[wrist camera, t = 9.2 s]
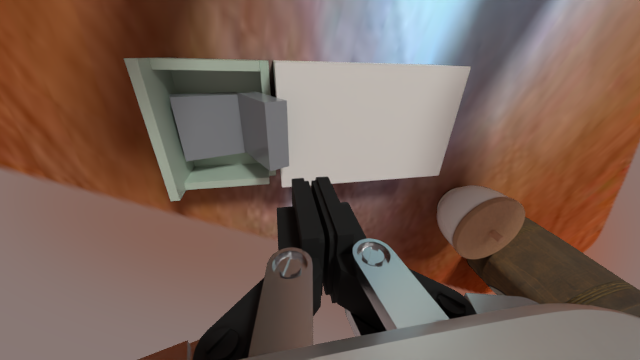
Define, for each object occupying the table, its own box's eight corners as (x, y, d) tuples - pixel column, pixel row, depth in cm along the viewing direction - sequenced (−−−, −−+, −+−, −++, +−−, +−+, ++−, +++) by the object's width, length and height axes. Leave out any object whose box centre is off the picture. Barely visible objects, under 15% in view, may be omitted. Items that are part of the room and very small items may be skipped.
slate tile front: (286, 100, 19) (264, 102, 18) (289, 166, 22) (270, 171, 21) (256, 91, 23) (237, 92, 22) (262, 147, 26) (244, 151, 25)
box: (268, 60, 24) (268, 61, 18) (275, 164, 30) (277, 192, 24) (162, 57, 22) (123, 58, 16) (191, 169, 28) (170, 201, 22)
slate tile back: (169, 97, 20) (169, 94, 21) (186, 161, 23) (185, 154, 24) (240, 94, 23) (236, 91, 24) (247, 152, 25) (243, 146, 27)
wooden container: (455, 272, 50) (572, 406, 31) (484, 216, 43) (656, 343, 24) (510, 266, 53) (645, 383, 34) (545, 213, 46) (737, 323, 27)
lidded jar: (418, 230, 41) (455, 273, 33) (433, 176, 36) (482, 211, 28) (469, 224, 43) (516, 262, 35) (491, 172, 38) (551, 203, 30)
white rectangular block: (433, 64, 28) (471, 66, 23) (411, 157, 34) (438, 175, 28) (272, 60, 24) (274, 61, 19) (279, 164, 30) (281, 187, 25)
